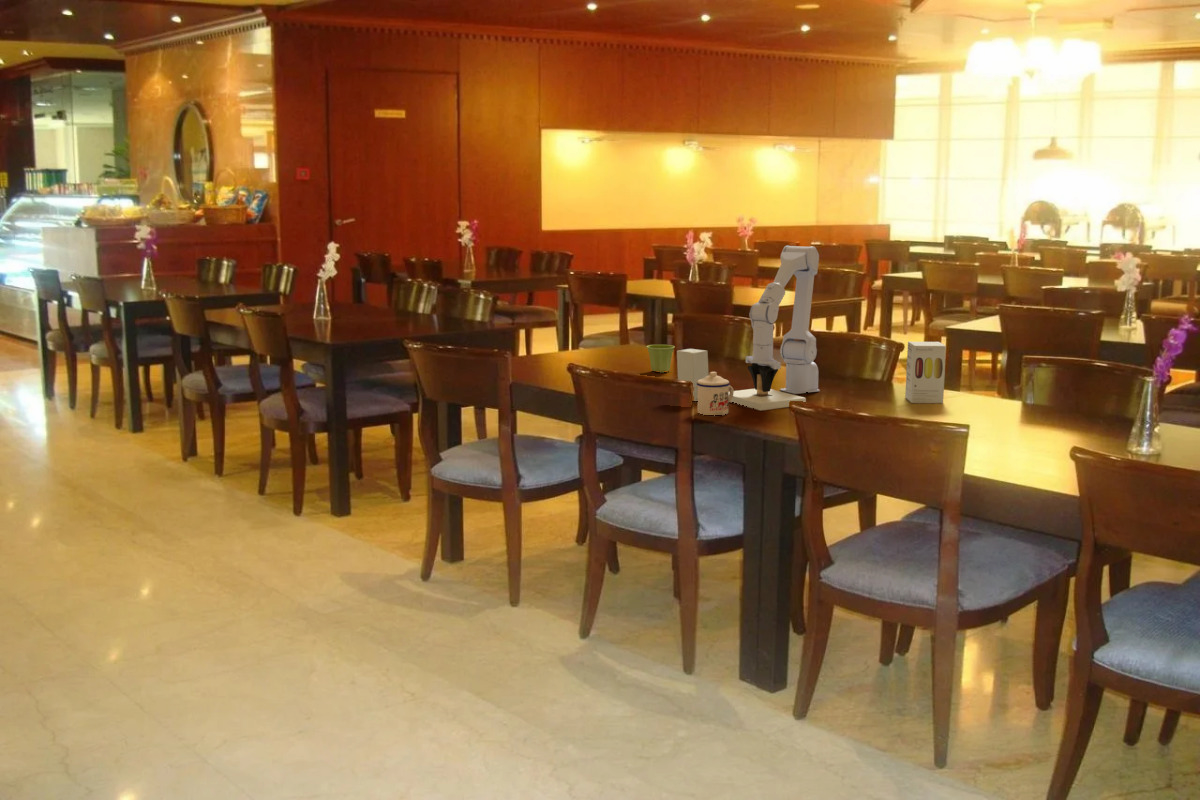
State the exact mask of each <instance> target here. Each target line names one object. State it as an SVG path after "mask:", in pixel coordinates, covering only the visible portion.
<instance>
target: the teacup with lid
mask: <svg viewBox="0 0 1200 800" xmlns="http://www.w3.org/2000/svg"><path fill="white" fill-rule="evenodd" d="M717 373H718V372H717V371H710V372H709V376H706V377H705V378H703V379H700V380H698V381H697V385H698V402H697V414H698V413H700V414H703V415H702V416H704V415H714V416H713V417H716V416H715V415H722V416H726V415H728V414H729V403H731V402H730V401H731V399H732V397H733V394H734V391H735V390H734V388H733V387H732V386H731V385H730V381H729V380H728V379H725V378H723V377H722V376H720V375H717ZM729 392H730V394H729ZM700 414H699V415H700ZM725 414H726V415H725Z"/></svg>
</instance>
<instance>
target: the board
mask: <svg viewBox="0 0 1200 800" xmlns="http://www.w3.org/2000/svg"><path fill="white" fill-rule="evenodd" d="M729 394H730V391H729ZM790 401H803V402H806V403H807V398H806V397H804V396H799V395H797V394H793V393H789V392H785V391H781V390H775V389H774V388H773V389H772V388H771V389H770V391H768V396H767V397H758V396H757V390H755V388H748V389H740V390H734V394H733V397H732V399H731V401H730V402H729V403H732V402H734V403H733V404H735V403H737V404H736V405H739V404H740V405H739V406H742V405H744V406H743V407H746V406H747V407H746V408H750V409H753V408H754V410H757V411H767V410H774V409H775V410H776V409H782V408H790V407H789V402H790Z"/></svg>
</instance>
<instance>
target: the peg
mask: <svg viewBox="0 0 1200 800" xmlns="http://www.w3.org/2000/svg"><path fill="white" fill-rule="evenodd" d="M757 396H758V397H767V396H768V392H763V389H762V379H761V374H757Z"/></svg>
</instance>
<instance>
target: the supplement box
mask: <svg viewBox="0 0 1200 800" xmlns="http://www.w3.org/2000/svg"><path fill="white" fill-rule="evenodd" d="M906 352H907V357H906V375H905V393H904V394H905V396H904V397H905V398H906V400H907V401H909V403H911V404H944V396H945V395H944V393H945V378H946V376H945V375H946V359H947V357H946V355H947V346H946V344H943V343H942V342H940V341H908V342H907V351H906Z"/></svg>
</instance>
